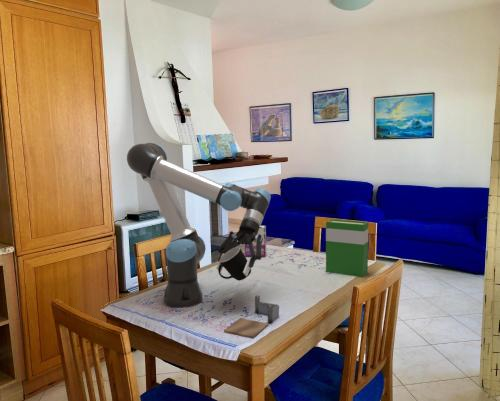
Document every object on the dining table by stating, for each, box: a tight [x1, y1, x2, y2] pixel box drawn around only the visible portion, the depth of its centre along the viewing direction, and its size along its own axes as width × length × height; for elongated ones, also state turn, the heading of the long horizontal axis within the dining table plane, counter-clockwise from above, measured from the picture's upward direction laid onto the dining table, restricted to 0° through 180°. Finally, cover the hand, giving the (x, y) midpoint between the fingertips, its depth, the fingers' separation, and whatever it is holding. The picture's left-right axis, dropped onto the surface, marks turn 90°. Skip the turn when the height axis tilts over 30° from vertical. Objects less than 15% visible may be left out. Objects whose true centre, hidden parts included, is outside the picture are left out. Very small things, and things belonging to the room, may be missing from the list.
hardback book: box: [325, 218, 369, 278], centre depth 206 cm, size 18×7×24 cm, turn 60°
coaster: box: [223, 317, 269, 339], centre depth 149 cm, size 11×11×1 cm
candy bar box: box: [244, 225, 267, 258], centre depth 237 cm, size 11×5×16 cm, turn 80°
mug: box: [217, 246, 252, 281], centre depth 166 cm, size 12×9×10 cm
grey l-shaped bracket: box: [254, 295, 280, 324], centre depth 158 cm, size 10×8×6 cm
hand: (231, 272), depth 164 cm, fingers closed on mug, 11 cm apart
